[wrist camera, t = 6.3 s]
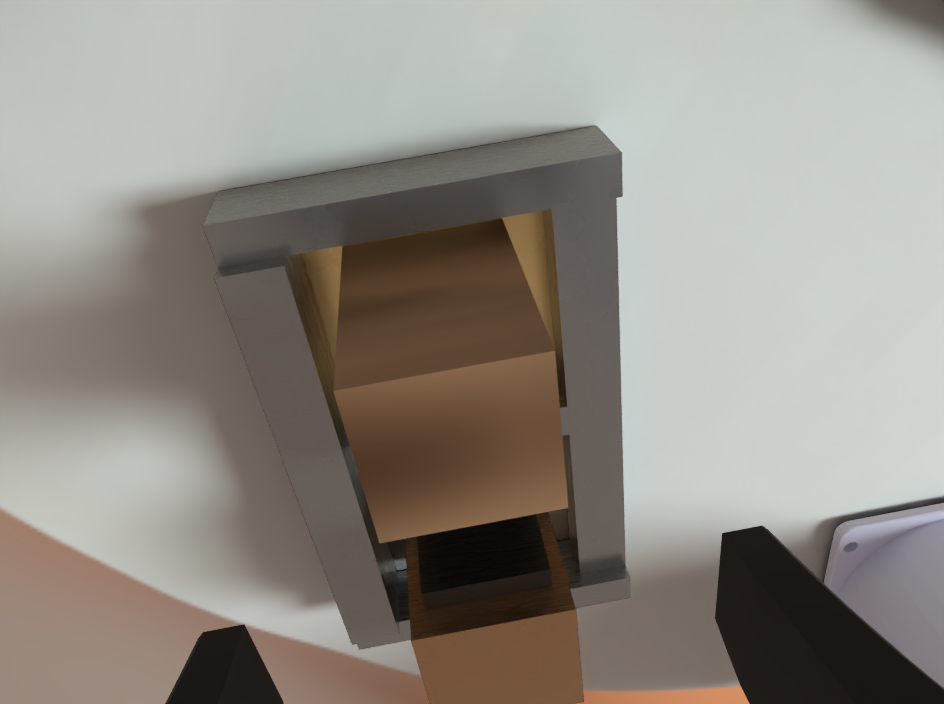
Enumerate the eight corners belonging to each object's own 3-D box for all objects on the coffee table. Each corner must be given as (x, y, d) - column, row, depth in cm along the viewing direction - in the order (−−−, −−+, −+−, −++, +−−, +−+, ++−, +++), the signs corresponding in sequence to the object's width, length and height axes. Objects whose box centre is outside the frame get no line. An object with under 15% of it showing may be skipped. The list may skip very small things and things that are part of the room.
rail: (613, 550, 26) (673, 714, 21) (359, 598, 25) (357, 776, 20) (596, 125, 17) (691, 227, 12) (218, 191, 17) (156, 322, 12)
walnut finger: (520, 369, 21) (570, 527, 16) (380, 395, 20) (385, 562, 15) (502, 219, 18) (555, 350, 13) (342, 247, 18) (333, 391, 13)
